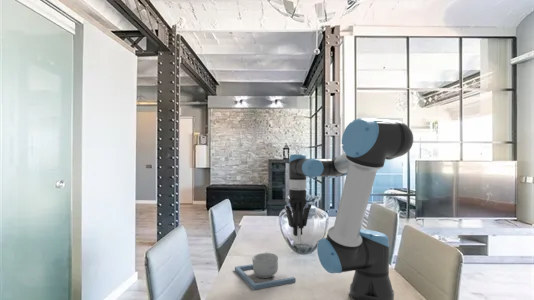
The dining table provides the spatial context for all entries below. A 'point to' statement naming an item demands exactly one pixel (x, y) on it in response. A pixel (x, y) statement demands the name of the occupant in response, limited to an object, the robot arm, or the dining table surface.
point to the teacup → (265, 264)
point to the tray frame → (263, 284)
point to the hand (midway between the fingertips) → (297, 242)
